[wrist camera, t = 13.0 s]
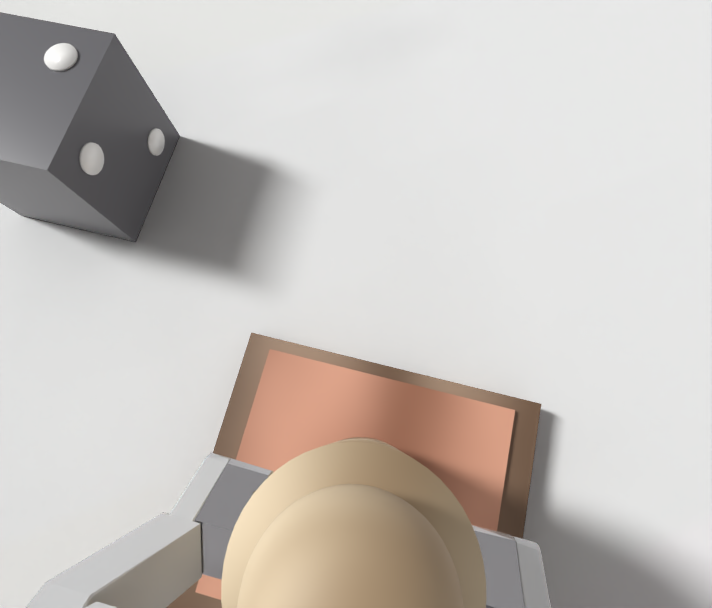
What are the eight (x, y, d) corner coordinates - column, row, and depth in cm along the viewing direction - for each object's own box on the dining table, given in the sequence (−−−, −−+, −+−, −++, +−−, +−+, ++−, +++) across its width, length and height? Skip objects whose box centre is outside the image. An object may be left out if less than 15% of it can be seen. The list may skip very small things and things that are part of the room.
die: (20, 215, 22) (-110, 134, 16) (71, 113, 23) (-30, 4, 17) (137, 242, 21) (47, 168, 15) (181, 135, 22) (115, 31, 17)
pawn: (279, 556, 15) (81, 838, 5) (315, 423, 16) (221, 407, 6) (410, 595, 14) (514, 1000, 4) (437, 455, 15) (571, 500, 5)
